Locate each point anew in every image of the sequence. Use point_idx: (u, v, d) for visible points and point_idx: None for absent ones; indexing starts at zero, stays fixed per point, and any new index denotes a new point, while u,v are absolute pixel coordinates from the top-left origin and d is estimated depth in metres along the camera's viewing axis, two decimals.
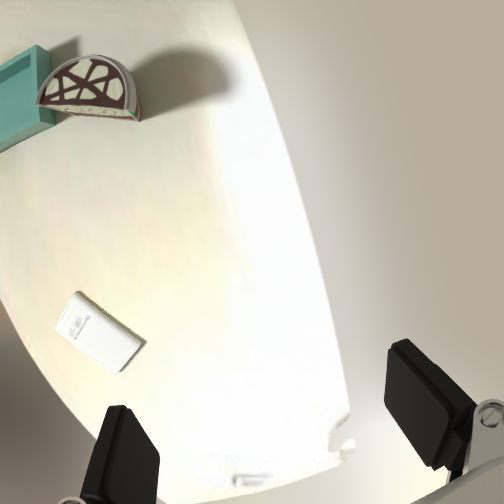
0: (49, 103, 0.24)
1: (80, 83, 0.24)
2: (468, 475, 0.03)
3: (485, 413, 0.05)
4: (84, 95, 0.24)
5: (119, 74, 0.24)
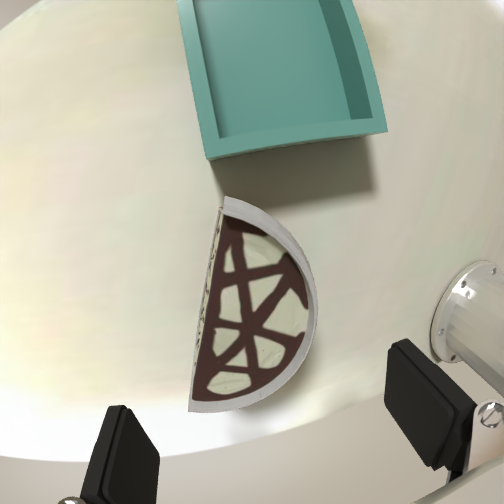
0: (220, 243, 0.14)
1: (252, 320, 0.15)
2: (469, 475, 0.03)
3: (485, 413, 0.05)
4: (223, 335, 0.15)
5: (257, 387, 0.16)
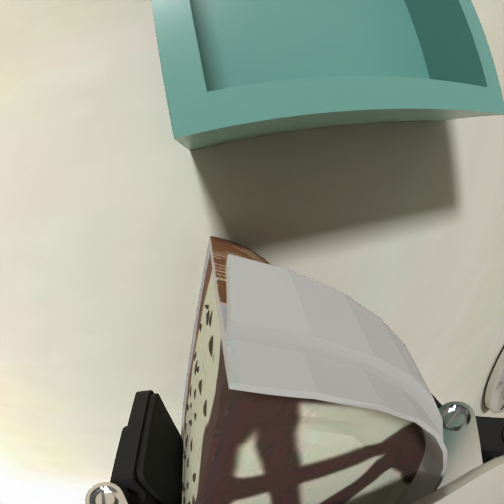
0: None
1: None
2: (469, 475, 0.03)
3: (447, 417, 0.06)
4: None
5: None
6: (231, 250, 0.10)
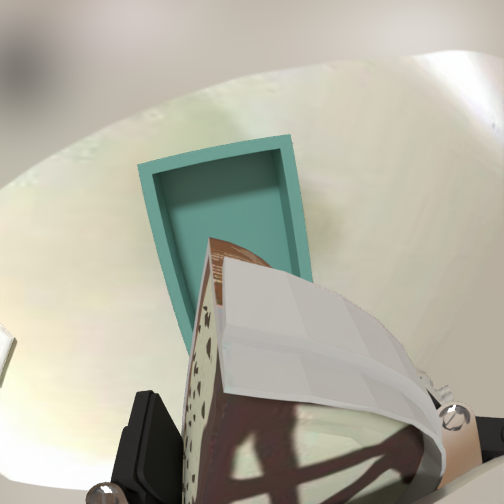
0: (218, 427, 0.04)
1: None
2: (468, 475, 0.03)
3: (446, 417, 0.06)
4: None
5: None
6: (229, 251, 0.10)
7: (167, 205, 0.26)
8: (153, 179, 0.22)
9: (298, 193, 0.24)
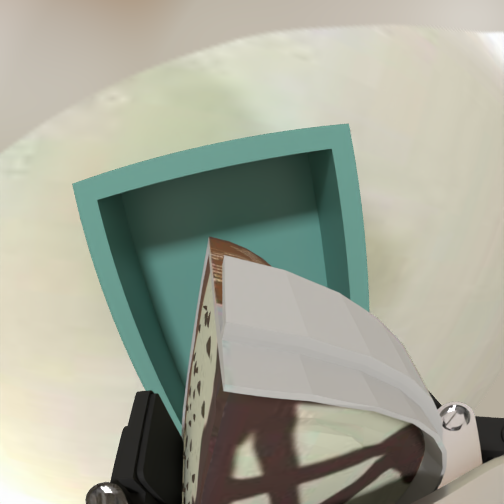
0: (218, 427, 0.04)
1: None
2: (469, 475, 0.03)
3: (446, 417, 0.06)
4: None
5: None
6: (229, 251, 0.10)
7: (135, 246, 0.16)
8: (101, 209, 0.12)
9: (361, 229, 0.13)
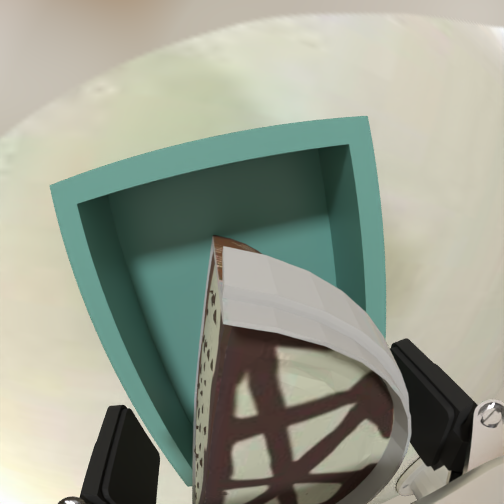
0: (222, 369, 0.06)
1: (292, 470, 0.07)
2: (469, 475, 0.03)
3: (485, 413, 0.05)
4: (240, 494, 0.06)
5: None
6: (230, 246, 0.11)
7: (124, 254, 0.14)
8: (81, 214, 0.10)
9: (380, 237, 0.11)
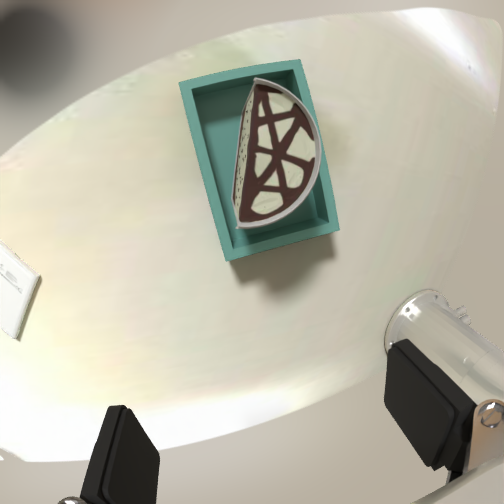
0: (255, 100, 0.21)
1: (279, 148, 0.22)
2: (469, 475, 0.03)
3: (485, 413, 0.05)
4: (261, 158, 0.22)
5: (288, 205, 0.23)
6: None
7: (200, 122, 0.29)
8: (192, 93, 0.25)
9: (311, 102, 0.27)
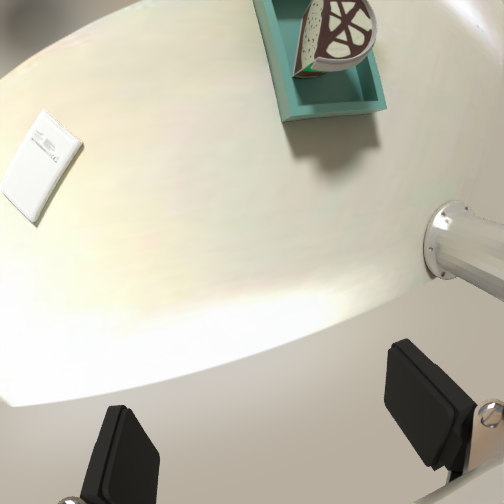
0: None
1: (345, 17, 0.22)
2: (469, 475, 0.03)
3: (485, 413, 0.05)
4: (333, 20, 0.22)
5: (354, 55, 0.23)
6: None
7: None
8: None
9: None
